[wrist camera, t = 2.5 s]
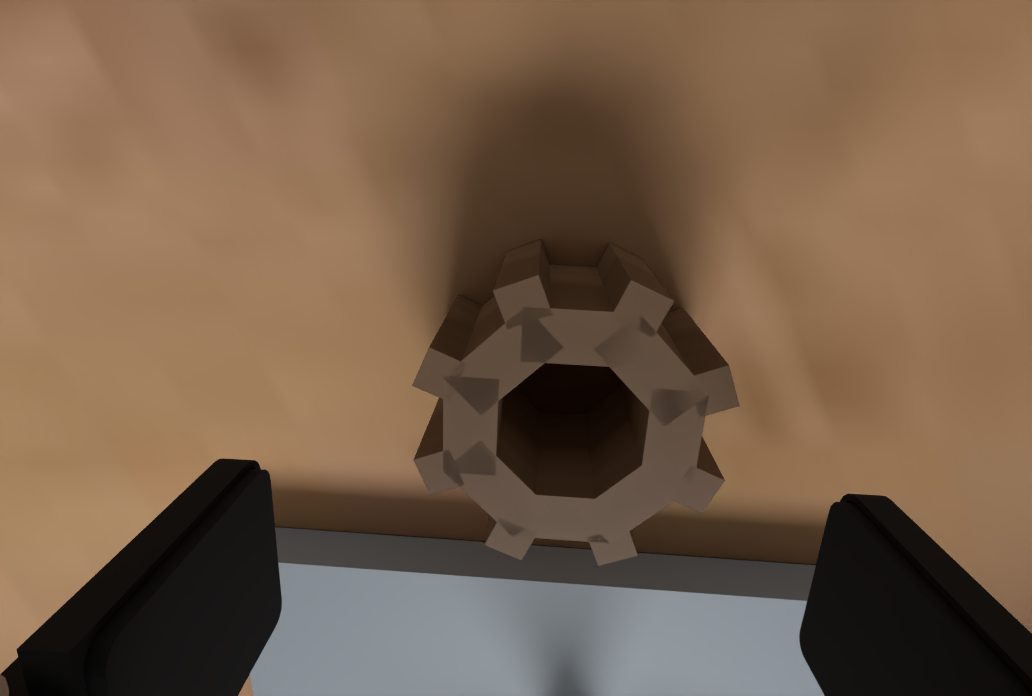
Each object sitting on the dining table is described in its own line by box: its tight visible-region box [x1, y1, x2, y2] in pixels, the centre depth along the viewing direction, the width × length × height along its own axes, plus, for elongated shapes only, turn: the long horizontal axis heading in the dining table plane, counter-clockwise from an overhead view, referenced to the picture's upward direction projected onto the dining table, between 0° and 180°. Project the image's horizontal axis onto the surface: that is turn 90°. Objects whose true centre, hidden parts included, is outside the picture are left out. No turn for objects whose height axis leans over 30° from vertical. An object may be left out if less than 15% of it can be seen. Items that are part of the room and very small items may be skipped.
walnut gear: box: [412, 239, 739, 566], centre depth 14 cm, size 6×6×4 cm
